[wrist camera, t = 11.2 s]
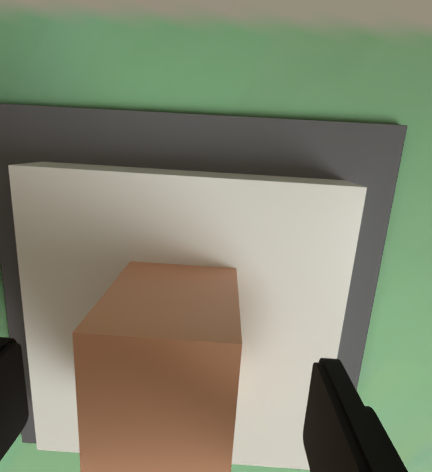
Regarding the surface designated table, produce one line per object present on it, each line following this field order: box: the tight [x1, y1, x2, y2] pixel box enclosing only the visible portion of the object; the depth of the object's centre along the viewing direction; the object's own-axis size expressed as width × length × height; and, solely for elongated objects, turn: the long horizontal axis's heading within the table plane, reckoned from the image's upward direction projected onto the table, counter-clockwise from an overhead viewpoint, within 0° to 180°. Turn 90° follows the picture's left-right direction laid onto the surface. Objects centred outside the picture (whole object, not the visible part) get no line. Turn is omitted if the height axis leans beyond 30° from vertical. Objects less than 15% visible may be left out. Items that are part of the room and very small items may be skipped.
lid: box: [8, 162, 367, 472], centre depth 12 cm, size 13×13×7 cm
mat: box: [0, 104, 407, 443], centre depth 16 cm, size 17×17×1 cm
